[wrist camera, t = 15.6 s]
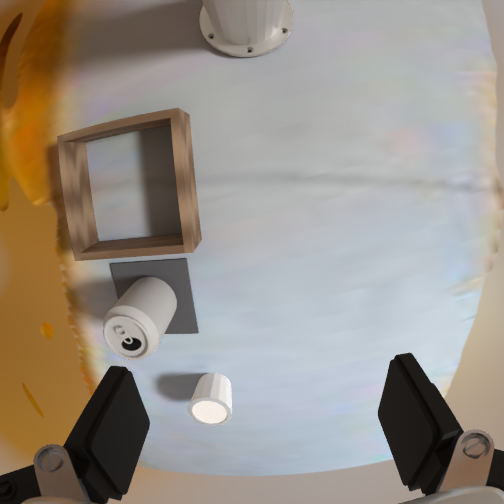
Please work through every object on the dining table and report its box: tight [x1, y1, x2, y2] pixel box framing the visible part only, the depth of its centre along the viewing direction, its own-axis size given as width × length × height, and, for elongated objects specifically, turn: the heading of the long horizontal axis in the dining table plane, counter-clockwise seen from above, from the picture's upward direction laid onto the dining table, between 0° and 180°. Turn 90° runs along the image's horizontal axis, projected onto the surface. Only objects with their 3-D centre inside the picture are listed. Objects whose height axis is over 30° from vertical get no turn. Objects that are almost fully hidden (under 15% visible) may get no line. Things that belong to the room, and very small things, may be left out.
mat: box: [111, 258, 198, 334], centre depth 45 cm, size 12×12×1 cm
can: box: [103, 277, 177, 360], centre depth 39 cm, size 8×8×12 cm
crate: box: [57, 108, 202, 261], centre depth 38 cm, size 17×17×6 cm
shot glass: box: [188, 373, 232, 426], centre depth 47 cm, size 7×7×7 cm
